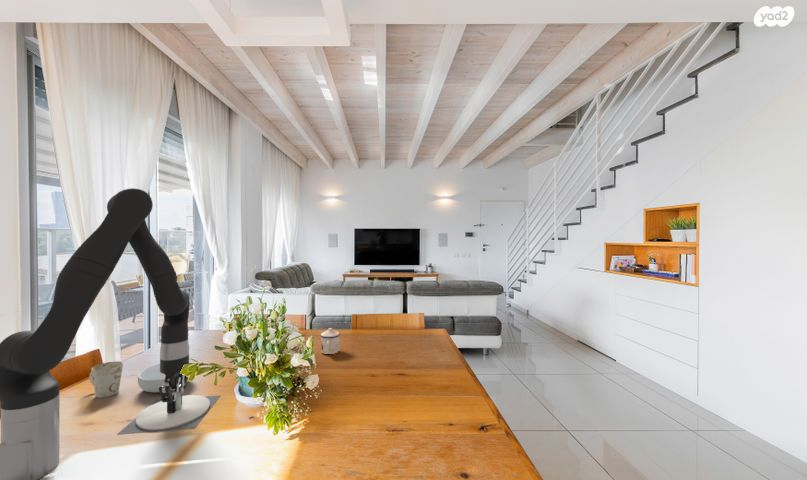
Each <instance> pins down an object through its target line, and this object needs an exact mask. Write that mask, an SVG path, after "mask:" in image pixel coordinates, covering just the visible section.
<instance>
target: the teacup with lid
mask: <svg viewBox="0 0 807 480" xmlns="http://www.w3.org/2000/svg"><path fill="white" fill-rule="evenodd" d="M340 335H341V334H340V332H339V331H337V330H334V329H333V327H329V328H328V329H327V330H325V331H324V332H322V333H320V353H321V352H322V353H325V354H332V353H337V352H338V351H339V352H340ZM339 352H338V353H339ZM322 353H321V354H322ZM338 353H337V354H338Z"/></svg>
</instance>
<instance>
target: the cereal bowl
mask: <svg viewBox="0 0 807 480" xmlns="http://www.w3.org/2000/svg"><path fill="white" fill-rule="evenodd" d="M189 363H192V364H193V362H191V361H189ZM193 365H194V364H193ZM164 381H165V374H163V373H161V372H160V363H159V364H156V365H152V366H150V367H147V368H145V369H143V370H142V371H140V372H139V373H138V375H137V384H138V387H139V388H140V389H141V390H143V391H145V392H148V393H160V392H159V387H160V386H164V384H165V382H164ZM188 381H189V380H188V379H187V382H188ZM171 390H173V389H171Z"/></svg>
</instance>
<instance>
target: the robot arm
mask: <svg viewBox="0 0 807 480" xmlns="http://www.w3.org/2000/svg"><path fill="white" fill-rule="evenodd" d="M153 206H154V205H153V199H152V197H151V196H150V195H149V193H148V192H146V191H145V190H143V189H141V188H134V187H133V188H131V187H130V188H125V189H122V190H120V191H118V192H116V194H114V195H113V196H112V197H110V198H109V200H108V202H107V203H106V210H107V214H106V215H105V217H104V220H103V221H102V222H101V224H100V225H99V226H98V227H97V228H96V229H95V230H94V231H93V232H92V233H91V235H89V237H87V238H86V239H85V240H84V241H83V242H82V243H81V244H80V245H79V247H78V248H77V249H76V250H75V251H74V253H72V255H71V257H70V258H69V259H68V261H67V262H66V264H65V265H64V266H63V268H62V269H61V270H60V272H59V274H58V276H57V279H56V283H55V288H54V295H53V301H52V305H51V307H50V309H49V311H48V313H47V314H46V315H45V317H44V319H43V320H42V322H41V324H39V326H38V328H36V330H22V331H17V332H15V333H12V334H10V335H8V336H7V337H5V339H3V340H2V341H1V342H0V480H39V479H41V478H44V477H46V476H48V475H49V474H50V473H51V472H52V471H53V470H54V469H56V468H57V466H59V464H60V384H59V381H57V379H55V378H54V377H53V375H52V374H51V372H50V371H52V370H53V369H54V368H56V367H57V366H58V365H59V364H60V363H61V362H62V361H63V359H64V358H65V356H66V355H67V354H68V352H69V350H70V348H71V346H72V343H73V342H74V340H75V337H76V336H77V333H78V331H79V328H80V327H81V325H82V324H83V323H82V322H83V321H84V319H85V317H86V315H87V314H88V312H89V310H90V309H91V307H92V306H93V304H94V302H95V301H96V298H97V297H98V296H99V294H100V292H101V290H102V289H103V287H104V286H105V284H106V283H107V282H108V280H109V278H110V276H111V275H112V273H113V272H114V270H115V268H116V267H117V265H118V263H119V261H120V259H121V257H122V256H123V253H124V251H125V250H126V248H127V246H128V244H129V245H130V246H131V248H132V249H133V252H134V253H135V255H136V257H137V259H138V260H139V263H140V265H141V267H142V269H143V271H144V273H145V276H146V278H147V279H148V281H149V284H150V285H151V287H152V292H153V295H154V298H155V301H156V305H157V307H158V309H159V311H160V312H161V313H162V314H163V322H162V325H161V331H160V332H161V333H160V336H161V340H160V348H159V364H160V372H161V373H163V374H165V381H164V382H165V384H164V386H160V387H159V392H158V393H159V395H160V399H162V402H167V413H174V412H175V411H176V394H177V392H178V391H180V392H181V405H182V396H183V394H184V390H186V389H187V385H188V381H187V379H188V377H186V376H184V375H182V374H180V371H181V369H182V367H183V365H184V364H189V362H190V342H189V336H188V334H189V315H190V305H191V304H190V303H191V299H190V296H189V294H188V293H187V292H186V291H184V290H182V289H181V288H180V285H179V283H178V275H177V272H176V270H175V268H174V266H173V264H172V261H171V260H170V259H171V258H169V255H168V254H167V253H166V251H165V250H164V248H162V247H161V245H160V244H159V243H158V242H157V240H155V238H154V236H153V235H152V233H151V231H150V230H149V228H148V227H149V226H148V224H147V221H146V219H147V217H148V216H149V215H150V214H151V212H152V211H153ZM171 389H173V390H171ZM172 394H173V396H172Z"/></svg>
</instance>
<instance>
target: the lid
mask: <svg viewBox="0 0 807 480" xmlns="http://www.w3.org/2000/svg"><path fill="white" fill-rule="evenodd" d="M172 396H173V394H172ZM152 404H153V403H152ZM209 407H210V401H209V399H208V398H206V397H204V395H197V394H187V395H182V405H181V392H180V391H178V392H177V394H176V411H175V412H174V413H167V402H162V401H160V402H158V403H155V404H153V405H151V406H150V405H149V406H147V407H146V408H144V409H143V410H142V411H140V412H139V413H138V414H137V416H136V417H135V418H136V425H137V427H139V428H141V429H144V430H164V429H169V428H174V427H177V426H181V425H184V424H186V423H189V422H191V421H193V420H195V419H197V418H199V417H200V416H202V415H203V414H204V413H206V412H207V410H208V409H209Z"/></svg>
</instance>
